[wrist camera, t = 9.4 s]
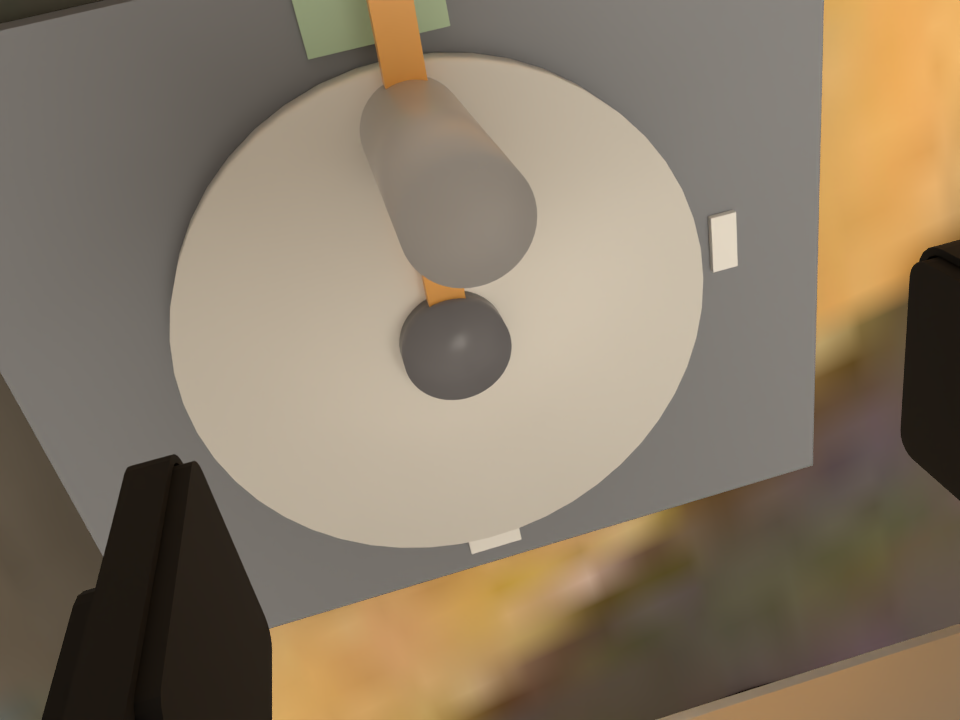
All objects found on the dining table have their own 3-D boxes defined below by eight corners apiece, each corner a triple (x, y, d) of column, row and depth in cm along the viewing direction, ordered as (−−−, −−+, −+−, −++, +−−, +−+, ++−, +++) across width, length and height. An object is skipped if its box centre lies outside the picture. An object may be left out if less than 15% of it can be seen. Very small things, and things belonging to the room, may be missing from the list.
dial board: (791, 442, 34) (815, 468, 32) (164, 628, 31) (160, 665, 30) (795, -156, 23) (832, -157, 22) (-143, 56, 21) (-172, 70, 19)
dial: (691, 458, 31) (811, 622, 24) (259, 573, 29) (262, 783, 22) (676, -86, 22) (859, -61, 15) (52, 32, 20) (-43, 119, 13)
